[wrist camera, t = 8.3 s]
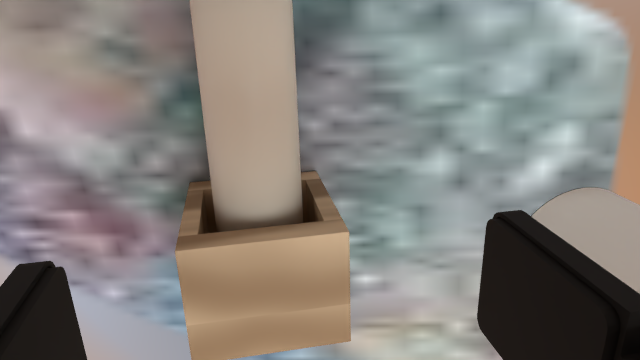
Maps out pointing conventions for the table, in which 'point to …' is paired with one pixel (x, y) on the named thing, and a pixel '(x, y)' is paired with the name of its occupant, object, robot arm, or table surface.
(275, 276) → the socket
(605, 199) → the cylinder container
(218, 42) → the tube
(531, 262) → the robot arm
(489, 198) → the table surface
